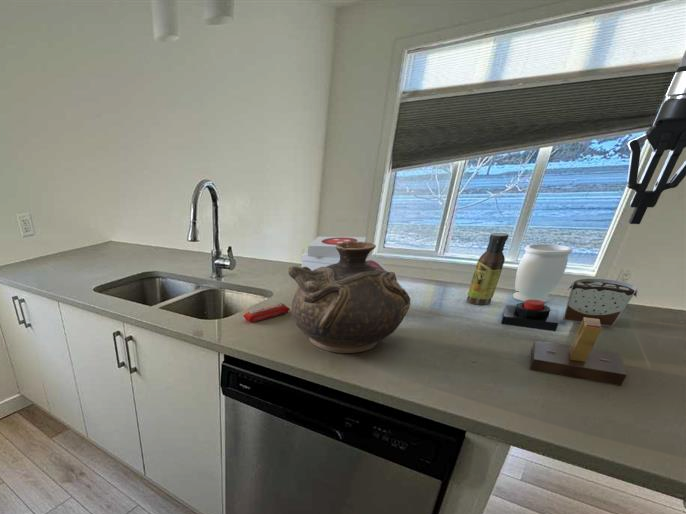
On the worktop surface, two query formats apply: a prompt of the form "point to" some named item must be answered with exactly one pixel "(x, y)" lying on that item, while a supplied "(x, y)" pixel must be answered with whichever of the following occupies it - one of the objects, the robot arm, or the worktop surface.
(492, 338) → the worktop surface
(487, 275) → the sauce bottle
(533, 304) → the set button
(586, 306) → the food container
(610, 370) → the plate
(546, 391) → the worktop surface
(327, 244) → the pizza boxes
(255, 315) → the candy bar
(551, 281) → the jar
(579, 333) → the thumb turn
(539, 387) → the worktop surface
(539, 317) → the set button box
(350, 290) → the vessel
